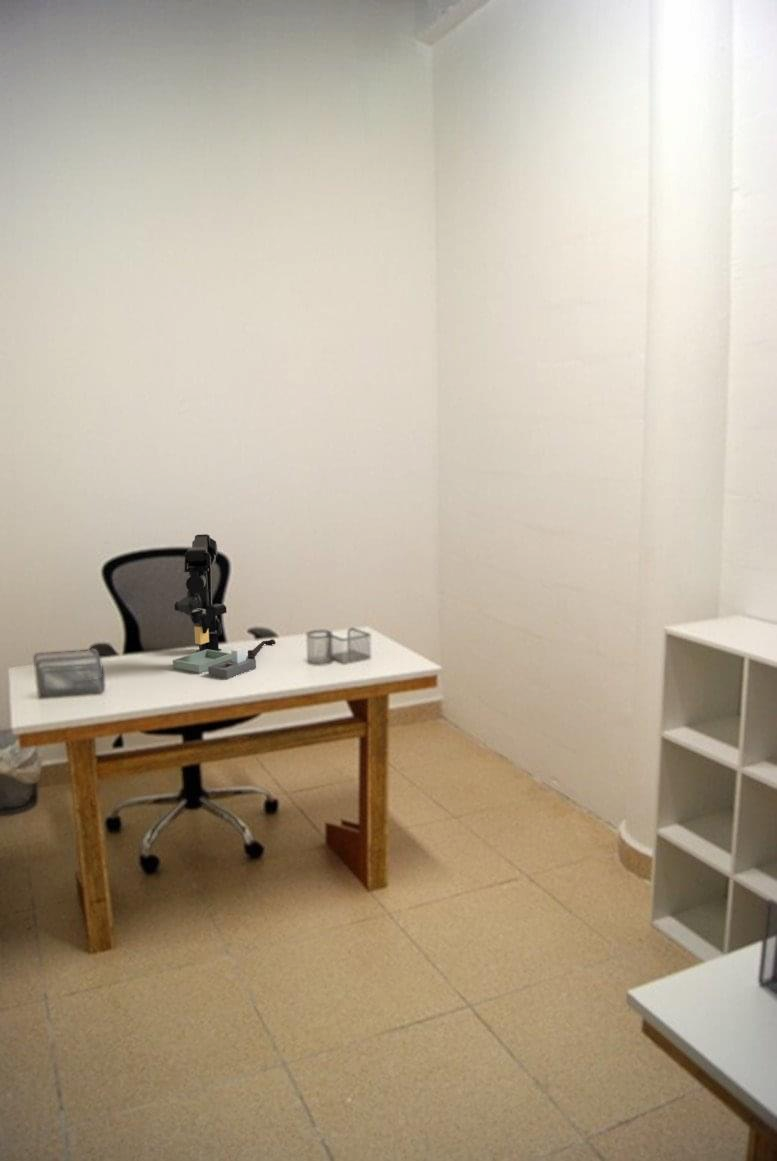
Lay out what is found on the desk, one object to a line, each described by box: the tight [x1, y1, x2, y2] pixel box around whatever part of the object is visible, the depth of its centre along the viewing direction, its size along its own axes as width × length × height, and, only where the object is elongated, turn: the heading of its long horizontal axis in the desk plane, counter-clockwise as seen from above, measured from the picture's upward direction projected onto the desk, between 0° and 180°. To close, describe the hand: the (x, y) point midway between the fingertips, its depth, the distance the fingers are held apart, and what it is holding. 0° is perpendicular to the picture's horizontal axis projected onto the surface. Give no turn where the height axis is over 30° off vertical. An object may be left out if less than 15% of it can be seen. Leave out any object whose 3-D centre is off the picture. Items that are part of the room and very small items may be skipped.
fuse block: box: [207, 657, 257, 680], centre depth 290 cm, size 8×14×3 cm, turn 147°
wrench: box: [246, 638, 276, 660], centre depth 311 cm, size 5×5×30 cm
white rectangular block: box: [230, 647, 247, 663], centre depth 293 cm, size 2×4×7 cm, turn 147°
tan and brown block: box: [193, 621, 209, 645], centre depth 297 cm, size 2×4×7 cm, turn 148°
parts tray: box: [172, 649, 232, 674], centre depth 299 cm, size 12×16×3 cm
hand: (201, 632), depth 297 cm, fingers closed on tan and brown block, 2 cm apart
